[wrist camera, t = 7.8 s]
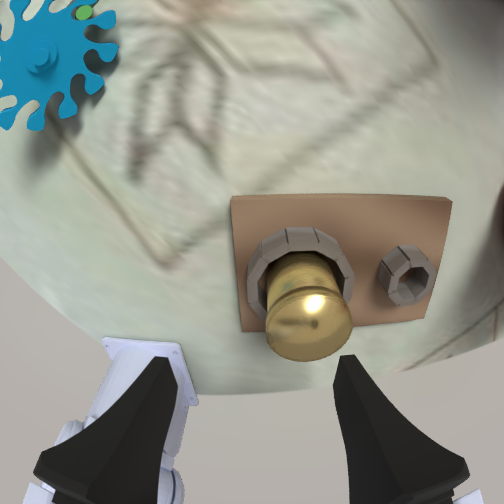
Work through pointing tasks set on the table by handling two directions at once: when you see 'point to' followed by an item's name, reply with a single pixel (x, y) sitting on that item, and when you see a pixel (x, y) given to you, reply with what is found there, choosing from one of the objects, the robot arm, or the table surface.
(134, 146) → the table surface
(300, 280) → the brass nipple
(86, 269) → the table surface
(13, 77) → the gear
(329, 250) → the manifold board
